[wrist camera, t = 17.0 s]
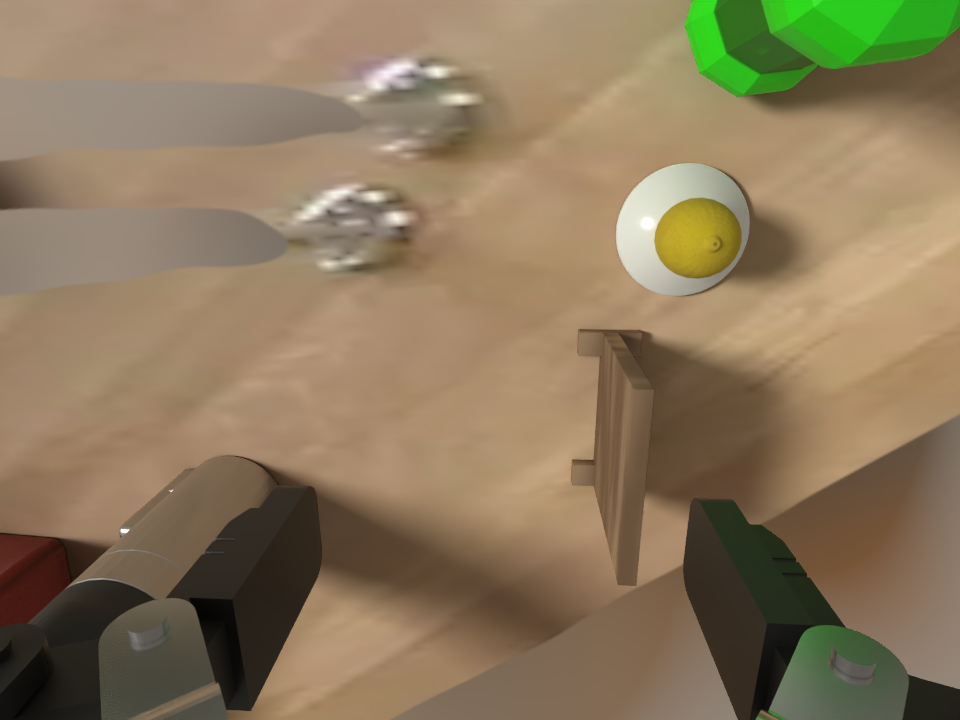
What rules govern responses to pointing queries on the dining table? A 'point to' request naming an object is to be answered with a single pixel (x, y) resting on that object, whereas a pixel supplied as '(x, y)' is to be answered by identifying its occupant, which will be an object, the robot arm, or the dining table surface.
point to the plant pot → (29, 576)
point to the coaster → (649, 208)
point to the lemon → (698, 238)
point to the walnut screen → (619, 443)
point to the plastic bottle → (809, 37)
